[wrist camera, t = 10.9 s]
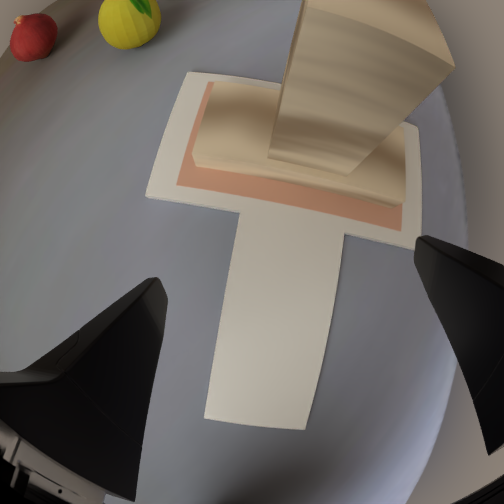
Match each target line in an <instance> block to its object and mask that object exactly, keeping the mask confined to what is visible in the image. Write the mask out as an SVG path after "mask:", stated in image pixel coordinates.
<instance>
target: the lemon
mask: <svg viewBox="0 0 504 504" xmlns="http://www.w3.org/2000/svg"><path fill="white" fill-rule="evenodd" d="M98 23H99V28H100V31H101V33H102V35H103V37H104V38H105V40H106V41H107V42H108V43H109V44H110V45H112V46H114V47H116V48H118V49H131V48H135V47H140V46H142V45H143V44H145V43H146V42H148V41H149V40H151V39H152V38H153V37H154V36H155V35H156V33H157V32H158V30H159V27H160V23H161V13H160V10H159V7H158V4H157V2H156V0H105V1H104V2H103V4H102V6H101V8H100V11H99V18H98Z"/></svg>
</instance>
